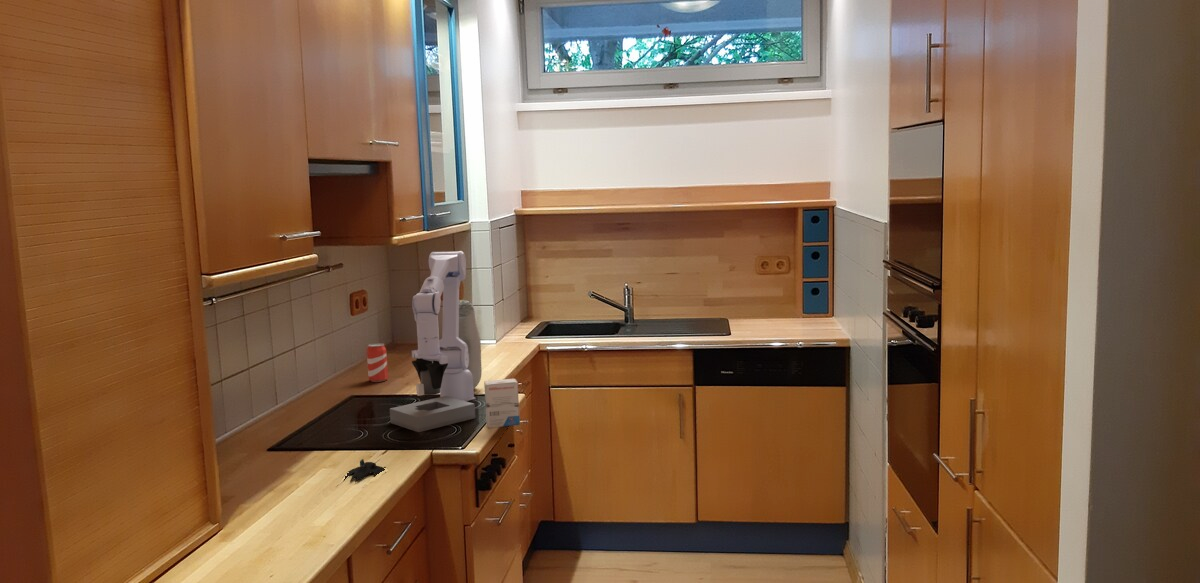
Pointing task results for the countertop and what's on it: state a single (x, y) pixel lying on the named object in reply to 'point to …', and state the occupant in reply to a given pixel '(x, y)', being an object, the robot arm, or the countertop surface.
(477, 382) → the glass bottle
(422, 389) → the dark grey rounded piece
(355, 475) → the angular spaceship
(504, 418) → the ink box
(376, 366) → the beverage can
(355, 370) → the countertop surface
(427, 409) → the foam packaging insert
